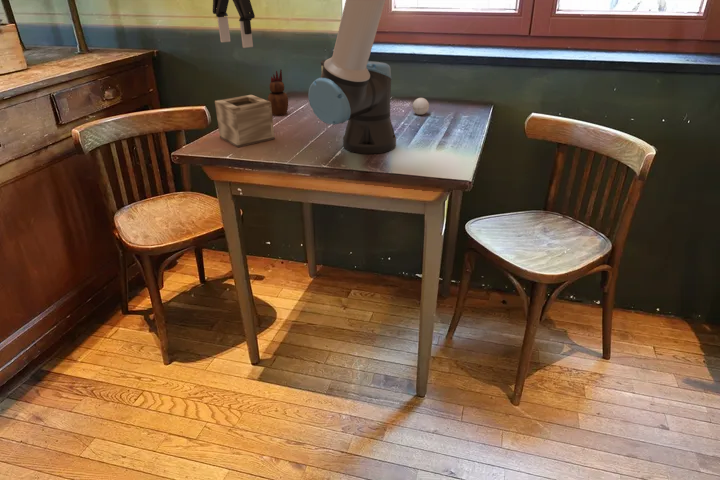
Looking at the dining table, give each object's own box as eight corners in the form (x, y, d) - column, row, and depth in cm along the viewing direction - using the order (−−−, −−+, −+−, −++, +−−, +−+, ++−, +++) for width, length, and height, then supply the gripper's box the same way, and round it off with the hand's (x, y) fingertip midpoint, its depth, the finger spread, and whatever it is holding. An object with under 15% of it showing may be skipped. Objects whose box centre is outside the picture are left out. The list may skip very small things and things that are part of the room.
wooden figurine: (291, 112, 179) (287, 68, 172) (286, 116, 174) (282, 71, 167) (272, 111, 180) (268, 67, 173) (267, 116, 175) (262, 71, 168)
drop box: (274, 138, 153) (270, 102, 148) (237, 147, 147) (232, 109, 142) (255, 129, 162) (251, 94, 156) (220, 137, 155) (214, 100, 150)
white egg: (415, 111, 178) (415, 95, 176) (430, 113, 176) (431, 96, 173) (407, 117, 172) (407, 100, 170) (423, 119, 170) (424, 102, 167)
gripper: (262, -45, 125) (270, 48, 135) (218, -44, 142) (229, 38, 152) (234, -44, 121) (245, 51, 131) (192, -43, 138) (205, 41, 148)
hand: (236, 44), depth 141 cm, fingers open, 13 cm apart
